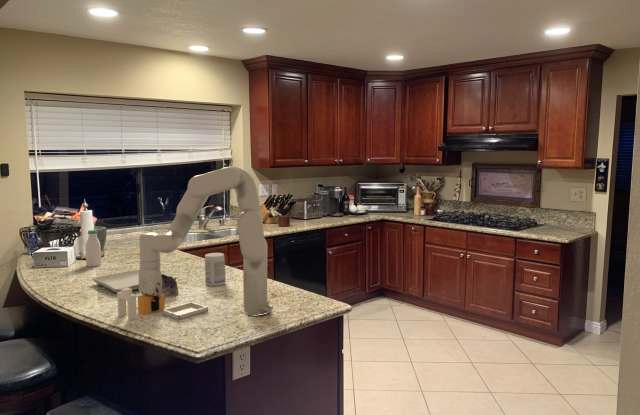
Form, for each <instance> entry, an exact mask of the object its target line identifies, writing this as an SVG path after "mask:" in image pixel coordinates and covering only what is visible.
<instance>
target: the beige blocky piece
mask: <svg viewBox="0 0 640 415" xmlns="http://www.w3.org/2000/svg"><path fill="white" fill-rule="evenodd" d="M116 295H117V296H116V298H117V315H118V317H123V316H127V320H128V321H133V320H137V319H138V318H137V317H138V316H137V313H138V312H137V295H136V294H134V293H133V291H132V289H130V288H124V289H121V292H116Z"/></svg>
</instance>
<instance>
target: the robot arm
mask: <svg viewBox="0 0 640 415" xmlns="http://www.w3.org/2000/svg"><path fill="white" fill-rule="evenodd" d="M230 190H234V192H235V196H236V204H237V208H238V217H237V220H236V227H237V233H238V234H237V236H238V240H239V247H240V252H241V256H242V257H243V261H242V262H243V263H242V264H243V268H242V269H243V271H242V272H243V273H242V274H243V277H242V278H243V281H242V282H243V284H242V286H243V288H242V289H243V306H241V307H240V308H239V312H240V313H242V314H245V315H258V314H264V313H267V312H268V313H269V314H271V312H272V310H274V307H273V305H270V301H268V246H269V245H268V242H267V239H266V238H265V231H264V226H263V221H264V218H263V215H262V211H261V204H260V200H259V195H258V194H259V192H258V188H257V185H256V183H255V180H254V179H253V177H252V175H251V174H250V173H249V172H247V171H246V170H244V169H242V168H240V167H237V166H232V165H231V166H226V167H223V168H220V169H215V170H212V171H209V172H206V173H203V174H198V175H194V176H193V177H191V178H190V179H189V181H188V184H187V188H186V191H185V192H184V194H183V196H182V198H181V200H180V201H179V203H178V205H177V207H176V214H175V217H174V219H173V221H172V222H171V225H170V226H169V228H168V229H167V231H166V232H165V233H163V234H158V233H157V232H143V233H141V234H140V235H139V266H140V267H139V269H138V270H139V283H138V287H139V289H138V291H139V292H140V293H141V294H142V295H146V294H149V295H151V297H152V302H151V311H152V312H153V313H155V312H154V311H156V312H158V311H157V310H159V300H160V298H161V296H162V295H163V293H162V277H161V274H162V271H161V253H163V254H171V253H173V252H175V251H176V250H177V249H178V248H179V247H180V246H181V245H182V243H184V240H185V238H187V235H188V234H189V232H190V231H191V228H192V226H193V224H194V223H195V222H196V220H197V219H198V216H199V214H200V212H201V211H202V209H203V207H204V205H205V204H206V202H207V200H208V199H209V197H210V196H214V195H217V194H221V193H223V192H227V191H230ZM155 292H156V293H155ZM154 295H157V296H155V297H154Z"/></svg>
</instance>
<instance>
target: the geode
mask: <svg viewBox="0 0 640 415" xmlns="http://www.w3.org/2000/svg"><path fill="white" fill-rule="evenodd" d="M161 277H162V293H164V298H173V297H176V296H177V295H179V288H178V283H177V281H176V280H177V277H172V276H169V275H166V274H164V273H161Z"/></svg>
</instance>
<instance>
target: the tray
mask: <svg viewBox="0 0 640 415" xmlns="http://www.w3.org/2000/svg"><path fill="white" fill-rule="evenodd" d="M208 312H209V307H208V306H206V305H203V304H200V303H196V302H194V301H189V302H186V303H182V304H178V305H175V306H170V307H168V308H165V309H163V310H161V313H162V315H163V316H166V317H167V318H171V319H174V320H177V321H181V320H184V319H188V318H191V317H195V316H198V315H202V314H204V313H208Z"/></svg>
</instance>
